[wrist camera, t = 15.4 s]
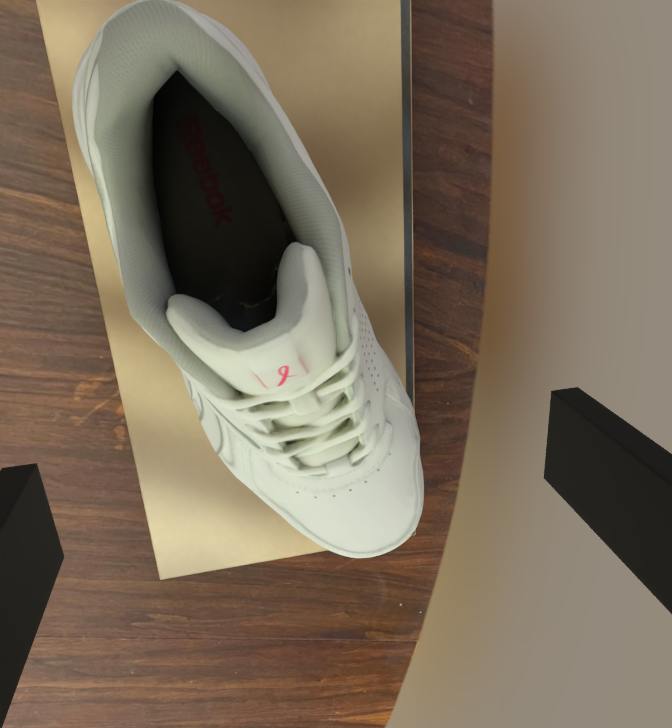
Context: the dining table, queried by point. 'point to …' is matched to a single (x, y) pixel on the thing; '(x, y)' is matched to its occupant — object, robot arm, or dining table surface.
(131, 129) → the running shoe
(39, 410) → the dining table surface
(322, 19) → the shoe shelf
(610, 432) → the robot arm
